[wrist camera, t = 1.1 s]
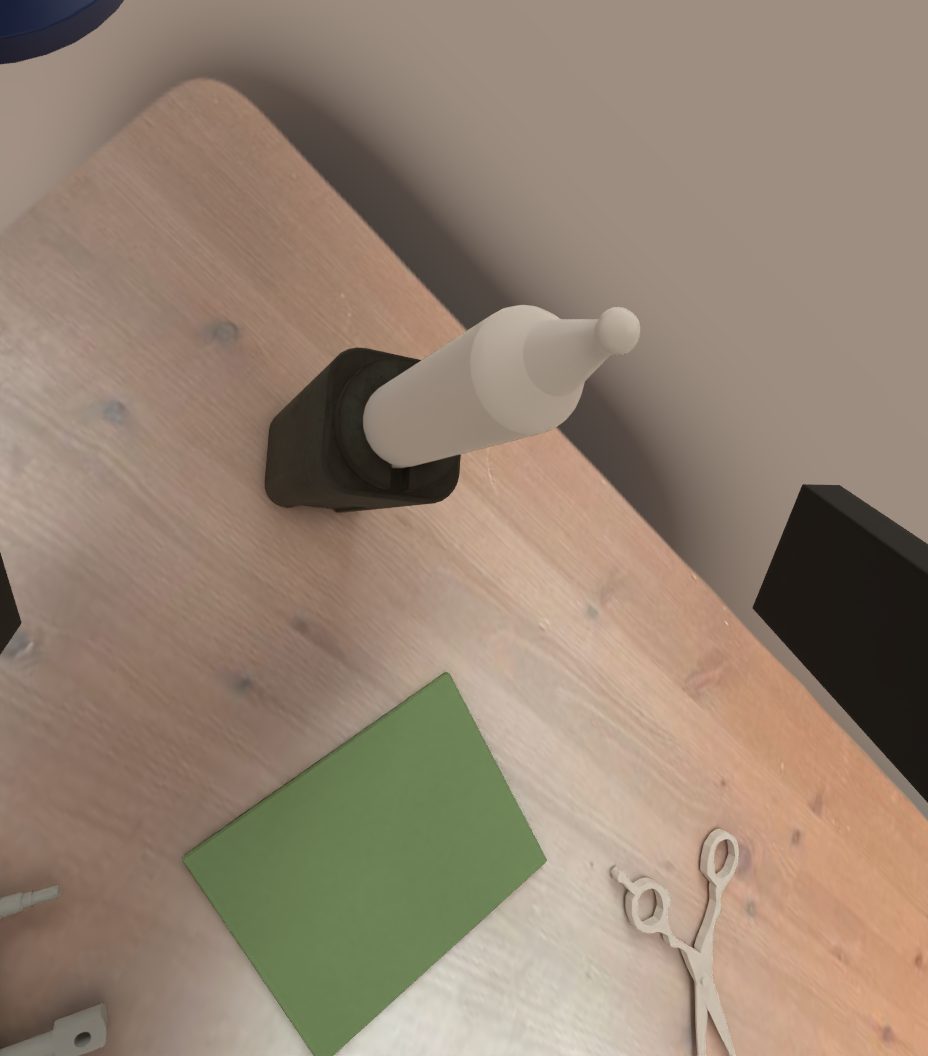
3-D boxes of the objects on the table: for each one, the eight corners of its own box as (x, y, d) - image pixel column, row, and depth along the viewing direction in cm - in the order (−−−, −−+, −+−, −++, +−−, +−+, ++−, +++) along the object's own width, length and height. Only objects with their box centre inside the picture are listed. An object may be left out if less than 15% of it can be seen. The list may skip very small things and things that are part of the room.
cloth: (182, 856, 31) (182, 860, 31) (446, 671, 37) (449, 672, 37) (319, 1061, 34) (321, 1066, 33) (543, 857, 40) (547, 860, 39)
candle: (366, 422, 35) (743, 226, 12) (359, 514, 35) (728, 484, 12) (271, 406, 33) (519, 134, 10) (262, 505, 33) (495, 447, 10)
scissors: (731, 807, 46) (777, 1058, 47) (722, 803, 46) (768, 1051, 48) (616, 874, 41) (671, 1149, 43) (609, 868, 42) (663, 1139, 44)
